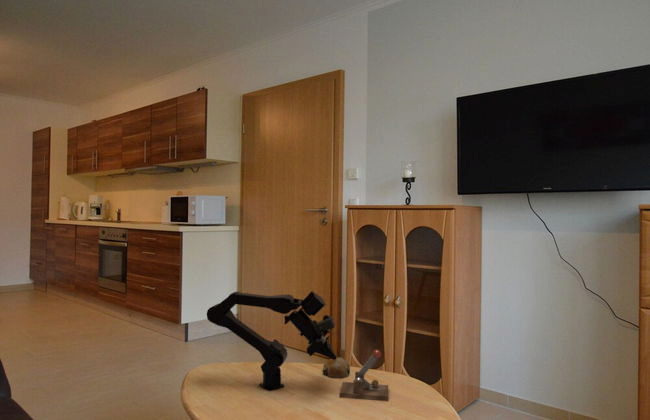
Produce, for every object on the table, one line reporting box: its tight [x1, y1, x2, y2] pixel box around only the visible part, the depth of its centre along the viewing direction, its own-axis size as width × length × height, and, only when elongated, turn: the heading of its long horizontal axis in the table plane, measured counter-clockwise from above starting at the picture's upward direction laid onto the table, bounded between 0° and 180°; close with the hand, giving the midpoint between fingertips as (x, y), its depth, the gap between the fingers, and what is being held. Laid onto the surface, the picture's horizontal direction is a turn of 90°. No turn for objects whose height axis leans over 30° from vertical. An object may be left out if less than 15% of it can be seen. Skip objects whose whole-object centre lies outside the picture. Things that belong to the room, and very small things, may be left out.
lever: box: [354, 349, 382, 388], centre depth 155 cm, size 6×6×13 cm
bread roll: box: [322, 356, 351, 379], centre depth 173 cm, size 10×10×8 cm
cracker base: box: [339, 371, 389, 402], centre depth 155 cm, size 16×10×6 cm, turn 82°
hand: (335, 358), depth 157 cm, fingers closed
